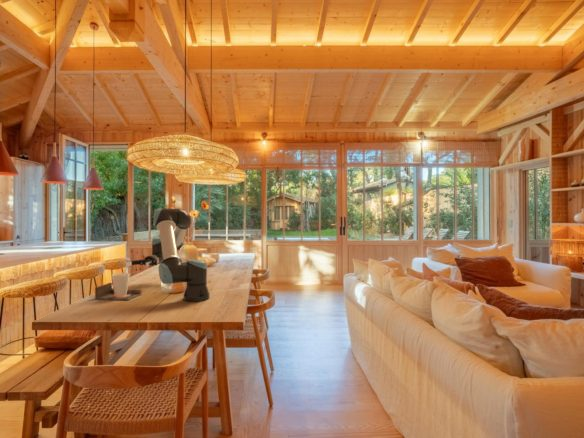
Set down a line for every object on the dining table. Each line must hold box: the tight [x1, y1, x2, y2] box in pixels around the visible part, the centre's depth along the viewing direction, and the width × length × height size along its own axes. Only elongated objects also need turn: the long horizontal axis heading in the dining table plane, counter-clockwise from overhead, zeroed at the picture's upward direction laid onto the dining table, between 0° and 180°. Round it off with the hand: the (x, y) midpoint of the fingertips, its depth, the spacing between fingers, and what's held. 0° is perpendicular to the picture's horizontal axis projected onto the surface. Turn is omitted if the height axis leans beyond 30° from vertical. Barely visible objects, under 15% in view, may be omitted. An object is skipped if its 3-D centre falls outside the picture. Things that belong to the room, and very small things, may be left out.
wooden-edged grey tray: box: [94, 282, 142, 302], centre depth 199 cm, size 20×14×7 cm
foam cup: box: [111, 272, 131, 297], centre depth 199 cm, size 10×9×13 cm
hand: (135, 264), depth 213 cm, fingers open, 13 cm apart
